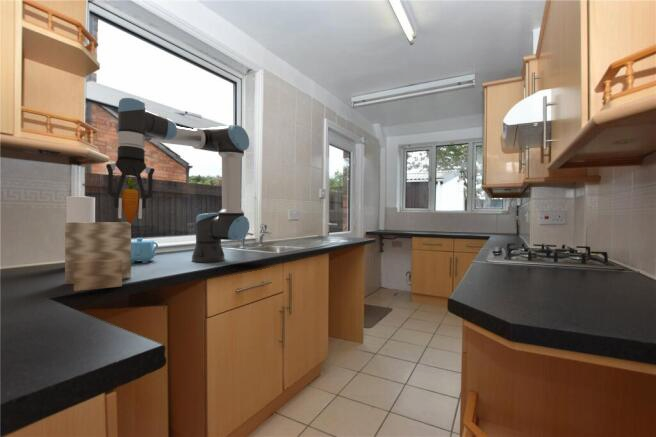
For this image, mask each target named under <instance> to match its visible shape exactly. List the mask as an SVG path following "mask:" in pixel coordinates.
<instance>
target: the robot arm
mask: <svg viewBox="0 0 656 437" xmlns="http://www.w3.org/2000/svg"><path fill="white" fill-rule="evenodd" d="M117 114H118V115H117V121H118V122H117V123H116V125H115V132H116V134H117V145H118V147H117V159H116V161H115V163H107V164H106V165H105V168H106V170H107V172H108V173H107V195H108V196H110V197H112V198H113V200H114V201H113V206H114V208H115V209H117V211H118V212H117V213H118V216H117V218H118V219H122V212H123V207H122V197H120V195H121V193H122V189H123V185H124V184H125V181H126V178H127V177H129V176H131V177H135V180H136V182H138V184H137V186H138V191H139V196H140V198H139V206H138V210H137V215H138V217H137V218H138V219H139V220H140V219H143V218H142V217H143V216H142V215H143V209H144V210H145V209H146V206H147V199H149V198H150V199H151V198H152V197H153V176H154V173H155V168H153V167H149V166H147V165H146V162H145V155H146V154H145V153H146V152H145V147H146V142H152V143H161V144H170V145H177V146H178V145H180V146H184V147H185V146H187V147H192V148H194V149H195V150H199V151H200V150H202V151H207V152H212V153H213V152H214V153H218V154H217V155H219V156H220V157H221V209H220V210H219V211H218V212H209V213H200V214H197V216H196V218H195V246H194V249H193V252H192V254H191V255H192V256H191V261H192V262H194V263H217V262H222V261H225V259H226V258H225V252H224V250H223V247H222V241H233V242H234V241H241V240H244V238H245V237H246V236H247V235H248V233H249V231H250V221H249V219H248V217H246V216H245V211H243V210H242V207H241V206H242V202H241V199H242V197H241V196H242V189H241V187H242V185H241V184H242V177H241V176H242V175H241V174H242V173H241V172H242V170H241V169H242V168H241V167H242V166H241V165H242V164H241V162H242V161H241V160H242V158H243V157H244V156H245V151H246V150H248V149H249V146H250V137H249V135H248V133H247V131H246V130H245V128H244V127H243V126H240V125H236V124H233V125H232V124H230V125H223V126H216V127H208V128H200V127H199V128H198V127H195V128H193V129H192V128H187V127H181V126H177V124H176V123H175V121H173V120H172V119H170V118H168V117H164V116H161V115H159V114H156V113H152V112H150V111H148V110H147V107H146V103H145V102H144V101H143V100H140V99H137V98H133V97H123V98H121V99H119V101H118V109H117ZM116 168H117V169H118V170H119V172H120V173H121V175H120V176H119V181H118V184H117V187H116V190H115V192H113V188H114V186H113V181H114V171H115V169H116ZM144 170H145V172H146V174H147V180H146V182H147V192H145V188H144V185H143V180H142V177H141V176H142V175H141V173H143V172H144ZM146 193H147V194H146Z"/></svg>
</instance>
